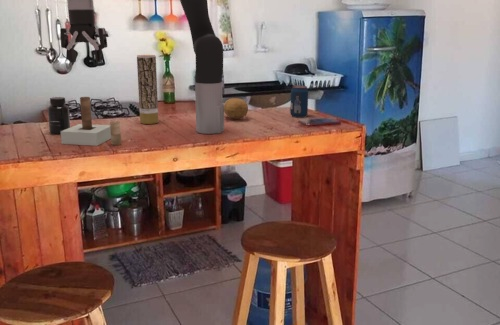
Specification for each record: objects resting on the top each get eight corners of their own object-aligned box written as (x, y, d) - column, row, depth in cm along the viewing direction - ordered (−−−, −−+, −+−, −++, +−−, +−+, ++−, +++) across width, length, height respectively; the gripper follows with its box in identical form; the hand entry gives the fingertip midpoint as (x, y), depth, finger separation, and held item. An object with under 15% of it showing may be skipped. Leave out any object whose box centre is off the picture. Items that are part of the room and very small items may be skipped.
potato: (242, 114, 215) (242, 95, 213) (252, 121, 202) (253, 100, 200) (219, 116, 212) (218, 96, 210) (228, 122, 199) (228, 101, 197)
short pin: (122, 143, 167) (121, 121, 165) (118, 145, 164) (117, 123, 162) (114, 142, 167) (112, 121, 166) (109, 144, 164) (108, 122, 163)
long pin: (94, 139, 171) (91, 96, 168) (90, 141, 169) (87, 98, 165) (86, 139, 172) (82, 96, 168) (81, 141, 169) (78, 98, 165)
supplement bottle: (51, 135, 177) (47, 100, 174) (48, 131, 183) (45, 97, 180) (72, 133, 180) (69, 98, 177) (69, 129, 186) (66, 95, 183)
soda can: (303, 114, 216) (304, 85, 213) (309, 117, 210) (311, 87, 207) (287, 115, 215) (288, 85, 211) (293, 118, 208) (294, 88, 205)
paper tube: (154, 125, 194) (151, 56, 187) (137, 124, 195) (133, 55, 189) (161, 121, 201) (158, 54, 194) (144, 120, 202) (141, 54, 195)
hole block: (113, 137, 175) (112, 125, 174) (97, 145, 164) (96, 133, 162) (80, 135, 177) (79, 123, 176) (61, 143, 166) (60, 131, 165)
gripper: (108, 8, 163) (112, 61, 167) (65, 8, 165) (70, 61, 170) (97, 8, 156) (101, 63, 160) (52, 8, 158) (58, 63, 162)
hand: (85, 62), depth 165 cm, fingers open, 8 cm apart
